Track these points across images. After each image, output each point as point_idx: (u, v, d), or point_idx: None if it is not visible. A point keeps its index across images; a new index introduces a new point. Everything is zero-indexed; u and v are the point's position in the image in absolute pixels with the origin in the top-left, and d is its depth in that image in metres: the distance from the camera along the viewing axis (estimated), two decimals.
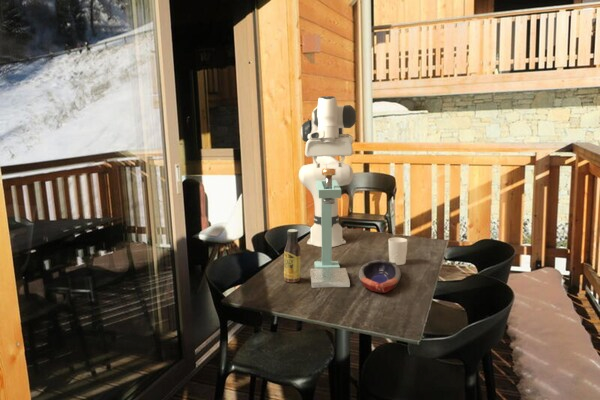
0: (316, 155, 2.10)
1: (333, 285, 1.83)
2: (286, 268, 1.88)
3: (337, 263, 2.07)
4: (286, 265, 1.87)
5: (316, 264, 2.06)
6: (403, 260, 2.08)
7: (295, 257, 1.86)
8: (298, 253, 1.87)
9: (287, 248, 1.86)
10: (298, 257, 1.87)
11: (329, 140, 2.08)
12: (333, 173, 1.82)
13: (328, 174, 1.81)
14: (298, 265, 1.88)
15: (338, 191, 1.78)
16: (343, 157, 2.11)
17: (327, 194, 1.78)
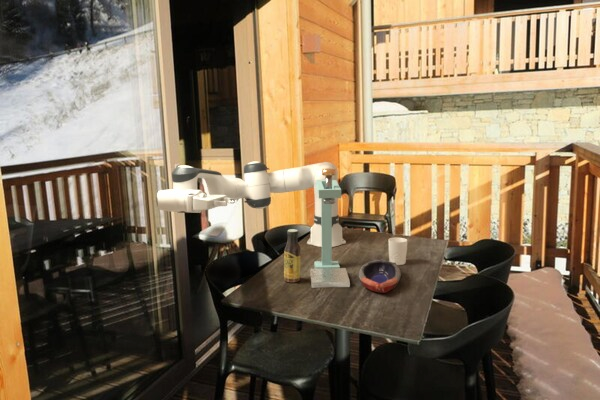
0: (212, 198, 1.86)
1: (333, 285, 1.83)
2: (286, 268, 1.88)
3: (337, 263, 2.07)
4: (286, 265, 1.87)
5: (316, 264, 2.06)
6: (403, 260, 2.08)
7: (295, 257, 1.86)
8: (298, 253, 1.87)
9: (287, 248, 1.86)
10: (298, 257, 1.87)
11: (202, 193, 1.92)
12: (333, 173, 1.82)
13: (328, 174, 1.81)
14: (298, 265, 1.88)
15: (338, 191, 1.78)
16: (225, 197, 1.97)
17: (327, 194, 1.78)
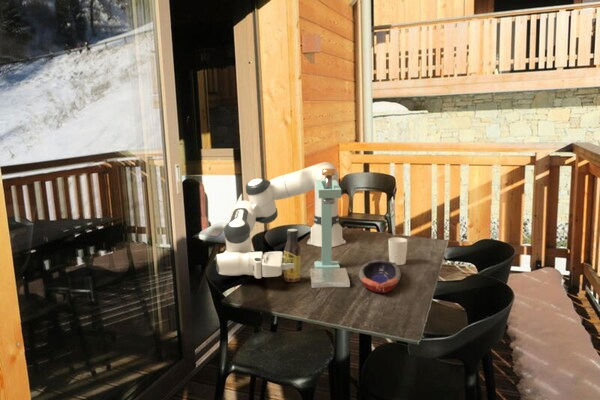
0: (280, 262, 1.84)
1: (333, 285, 1.83)
2: None
3: (337, 263, 2.07)
4: None
5: (316, 264, 2.06)
6: (403, 260, 2.08)
7: (295, 256, 1.86)
8: (298, 252, 1.87)
9: (287, 247, 1.87)
10: (298, 257, 1.87)
11: (264, 255, 1.89)
12: (333, 173, 1.82)
13: (328, 174, 1.81)
14: (298, 265, 1.88)
15: (338, 191, 1.78)
16: None
17: (327, 194, 1.78)
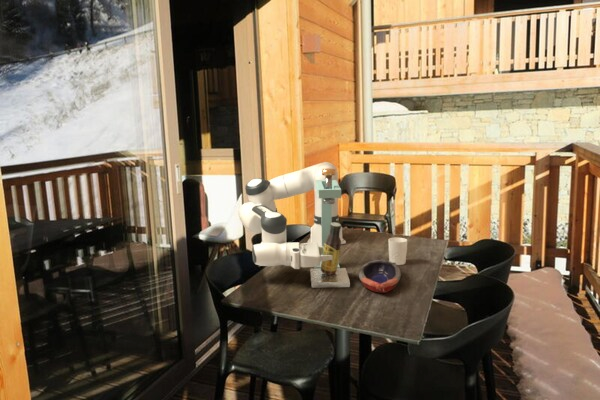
0: (318, 253, 1.83)
1: (333, 285, 1.83)
2: None
3: None
4: None
5: None
6: (403, 260, 2.08)
7: (335, 250, 1.87)
8: (338, 247, 1.87)
9: (328, 241, 1.87)
10: (338, 251, 1.88)
11: (301, 245, 1.88)
12: (333, 173, 1.82)
13: (328, 174, 1.81)
14: (337, 258, 1.89)
15: (338, 191, 1.78)
16: (320, 246, 1.95)
17: (327, 194, 1.78)
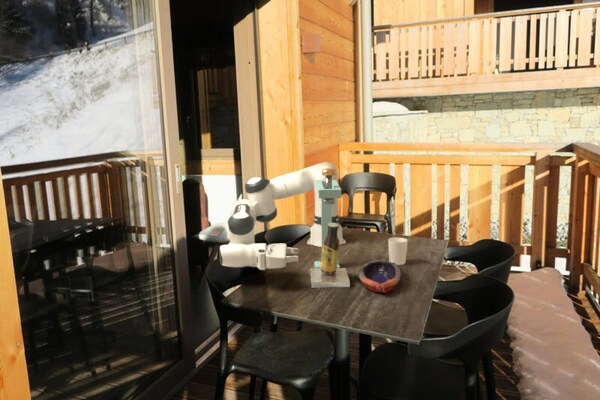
0: (284, 254, 1.83)
1: (333, 285, 1.83)
2: (324, 261, 1.89)
3: (337, 263, 2.07)
4: (324, 258, 1.88)
5: (316, 264, 2.06)
6: (403, 260, 2.08)
7: (334, 251, 1.86)
8: (337, 247, 1.87)
9: (326, 242, 1.86)
10: (336, 251, 1.87)
11: (268, 246, 1.88)
12: (333, 173, 1.82)
13: (328, 174, 1.81)
14: (336, 259, 1.88)
15: (338, 191, 1.78)
16: (288, 247, 1.94)
17: (327, 194, 1.78)
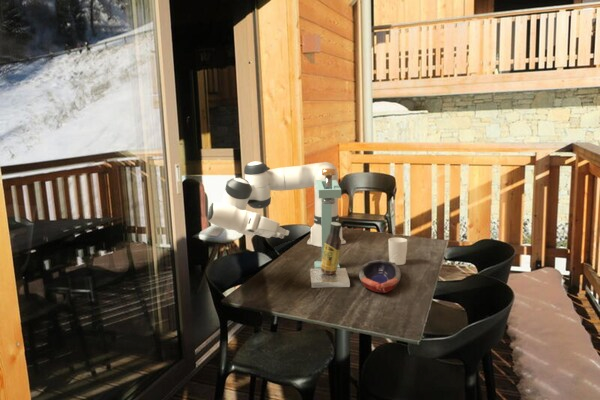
0: None
1: (333, 285, 1.83)
2: (324, 260, 1.89)
3: None
4: (325, 257, 1.89)
5: (316, 264, 2.06)
6: (403, 260, 2.08)
7: (335, 250, 1.87)
8: (338, 247, 1.88)
9: (328, 240, 1.87)
10: (338, 250, 1.88)
11: None
12: (333, 173, 1.82)
13: (328, 174, 1.81)
14: (337, 258, 1.89)
15: (338, 191, 1.78)
16: None
17: (327, 194, 1.78)
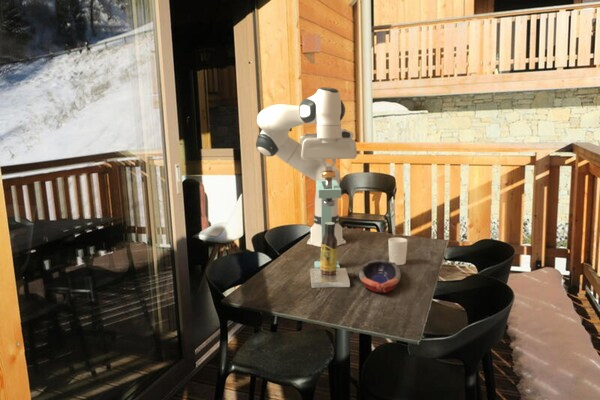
0: None
1: (333, 285, 1.83)
2: (322, 260, 1.90)
3: (337, 263, 2.07)
4: (323, 257, 1.89)
5: (316, 264, 2.06)
6: (403, 260, 2.08)
7: (332, 249, 1.88)
8: (335, 246, 1.88)
9: (324, 240, 1.88)
10: (335, 250, 1.89)
11: None
12: (333, 175, 1.82)
13: (328, 176, 1.81)
14: (334, 258, 1.89)
15: (338, 191, 1.78)
16: None
17: (327, 194, 1.78)
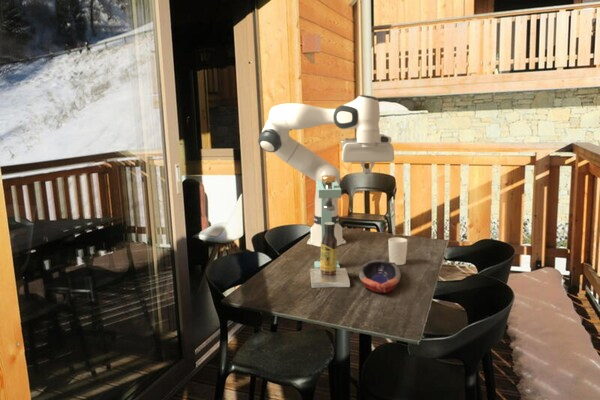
0: None
1: (333, 285, 1.83)
2: (322, 260, 1.90)
3: (337, 263, 2.07)
4: (322, 257, 1.89)
5: (316, 264, 2.06)
6: (403, 260, 2.08)
7: (331, 249, 1.88)
8: (335, 246, 1.88)
9: (324, 241, 1.88)
10: (334, 250, 1.89)
11: None
12: (333, 180, 1.82)
13: (328, 181, 1.81)
14: (334, 258, 1.89)
15: (338, 191, 1.78)
16: None
17: (327, 194, 1.78)
